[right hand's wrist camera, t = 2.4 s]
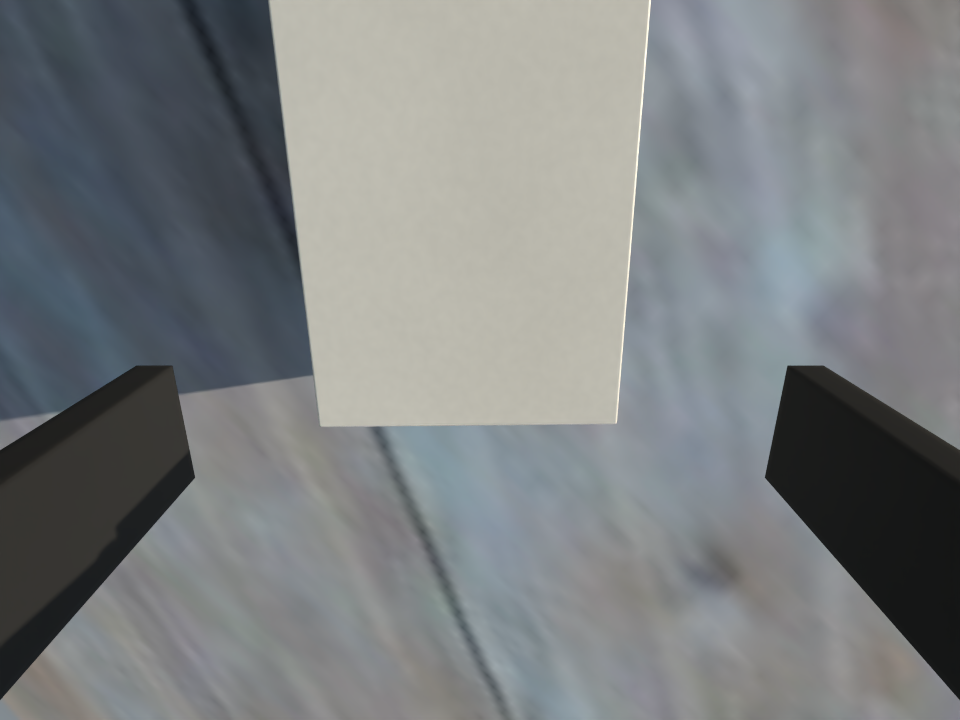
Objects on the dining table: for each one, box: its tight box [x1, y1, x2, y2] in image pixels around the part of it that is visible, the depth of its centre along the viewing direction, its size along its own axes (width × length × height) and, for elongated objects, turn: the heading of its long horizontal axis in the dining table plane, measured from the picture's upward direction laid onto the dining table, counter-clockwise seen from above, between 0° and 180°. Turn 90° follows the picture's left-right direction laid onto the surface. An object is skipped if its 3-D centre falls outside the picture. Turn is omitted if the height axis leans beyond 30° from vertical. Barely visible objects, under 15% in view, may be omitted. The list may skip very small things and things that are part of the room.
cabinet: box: [268, 0, 651, 427], centre depth 21 cm, size 21×11×10 cm, turn 1°
